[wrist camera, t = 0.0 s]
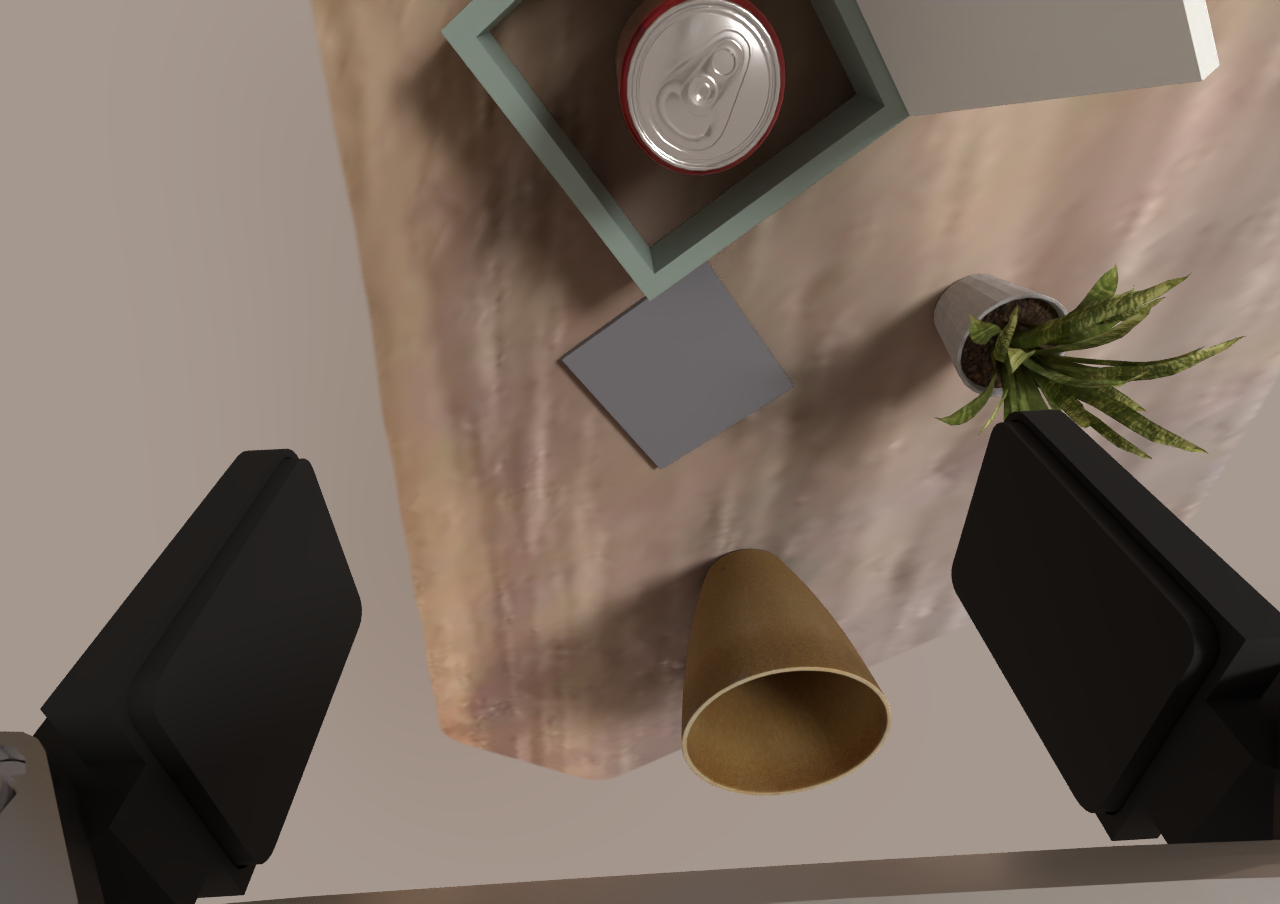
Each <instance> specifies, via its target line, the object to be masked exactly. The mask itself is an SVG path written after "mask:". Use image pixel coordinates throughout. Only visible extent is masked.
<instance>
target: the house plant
mask: <svg viewBox="0 0 1280 904" xmlns="http://www.w3.org/2000/svg"><path fill="white" fill-rule="evenodd" d="M1189 275H1190V274H1189ZM1189 275H1188V276H1189ZM1188 276H1186V277H1182V278H1177V279H1172V280H1168V281H1165V282H1163V283H1161V284H1158V285H1156V286H1153V287H1151V288H1148V289H1145V290H1142V291H1135V292H1133V291H1134V286H1133V288H1132V290H1130V291H1128V292H1125V293H1123V294H1119V295H1115V296H1113V295H1114V294H1115V291H1116V289H1117V284H1118V273H1117V267H1116V264H1115V267H1114V268H1113V269H1111V270H1110V271H1108V272H1107V273H1105V274H1104V275H1103V276H1102V277H1101V278H1100V279H1099V280H1098V281H1097V283H1096V284H1095V285H1094V286H1093V288H1092V289H1091V290H1090V292H1089V293H1088V294H1087V296H1086V297H1085V298H1084V299H1083V301H1082V302H1081V303H1080V304H1079V305H1078V307H1077V308H1076V309H1075V310H1073V311H1072V312H1070V313H1069V314H1068V313H1067V311H1066V309H1065V307H1064V306H1062V305H1061V304H1060V303H1059V302H1058V301H1057V300H1056V299H1053V298H1051V297H1048V296H1046V295H1043V294H1041V293H1038V292H1035V291H1032V290H1029V289H1027V288H1024V287H1021V286H1018V285H1016V284H1013V283H1010V282H1007V281H1005V280H1002V279H999V278H996V277H994V276H991V275H986V274H976V275H970V276H967V277H965V278H962V279H960V280H958V281H957V282H955V283H954V284H952V285H951V286H950V287H949V288H948V289H947V290H946V291H945V292H944V293H943V294H942V296H941V297H940V299H939V300H938V302H937V304H936V307H935V310H934V318H933V321H934V323H935V326H936V329H937V331H938V333H939V335H940V337H941V339H942V341H943V343H944V345H945V348H946V350H947V352H948V354H949V356H950V358H951V360H952V362H953V364H954V366H955V368H956V370H957V373H958V375H959V376H960V378H961V380H962V381H963V383H964V384H965V385H966V386H967V387H968V388H970V389H971V390H972V391H974V392H976V393H979V394H980V395H979V396H978V397H977V398H976V399H974V400H973V401H972V402H970V403H969V404H967V405H966V406H964V407H963V408H961V409H960V410H958V411H957V412H955V413H954V414H952V415H951V416H948V417H944V418H941V419H940V418H937V419H939V420H941V421H943V422H945V423H947V424H949V425H960V424H962V423H965V422H967V421H969V420H970V419H971V418H973V417H974V416H975V415H976V414H977V413H978V412H979V411H980V410H981V409H982V407H983V406H984V405H985V404H986V403H987V401H988V399H989V397H990V396H994V397H1002V399H1001V401H1000V403H999V405H998V406H997V408H996V410H995V412H994V414H993V415H992V417H991V418H990V419H989V421H988V422H987V424H986V425H985V426H984V428H983V429H982V430H981V432H982V431H983V430H984V429H985V427H986V426H987V425H988V424H989V423H990V422H991V421H992V420H993V419H994V417H995V415H996V413H997V411H998V409H999V407H1000V406H1001V404H1002V403H1003V401H1004V421H1005V419H1006V417H1007V416H1008V415H1009V414H1010V413H1012V412H1014V411H1031V410H1049V409H1048V407H1047V405H1046V403H1045V402H1044V400H1043V398H1042V396H1041V394H1040V392H1039V390H1038V387H1039V388H1040V389H1041V391H1042V392H1043V394H1044V396H1045V398H1046V399H1047V401H1048V403H1049V405H1050V406H1051V408H1052V409H1054V410H1060V411H1061V409H1062V410H1063V411H1064V412H1065V413H1066V414H1067V415H1068V416H1069V417H1070V418H1071V419H1072V420H1073V421H1074V422H1076V423H1077V424H1078V425H1080V426H1081V427H1084V428H1087V427H1089V425H1090V426H1091V427H1092V428H1093V429H1095V430H1096V431H1097V432H1098V433H1100V434H1101V435H1102V436H1103V437H1105V438H1106V439H1107V440H1109V441H1110V442H1111V443H1113V444H1114V445H1115V446H1117V447H1118V448H1121V449H1123V450H1125V451H1128V452H1131V453H1134V454H1136V455H1138V456H1140V457H1143V458H1150V459H1152V458H1151V457H1150V456H1148V455H1147V454H1146V453H1144V452H1143V451H1141V450H1140V449H1138V448H1137V447H1136V446H1134V445H1133V444H1132V443H1130V442H1129V441H1127V440H1126V439H1124V438H1123V437H1121V436H1120V435H1119V434H1117V433H1116V432H1115V431H1113V430H1112V429H1111V428H1110V427H1108V426H1107V425H1106V424H1105V423H1104V422H1102V421H1101V420H1100V419H1099V418H1097V417H1096V416H1094V415H1092V414H1091V413H1089V412H1088V411H1086V410H1085V409H1084V407H1083V404H1082V403H1081V402H1080V401H1078V400H1081V401H1083V402H1085V403H1087V404H1089V405H1092V406H1093V407H1095V408H1097V409H1099V410H1100V411H1102V412H1104V413H1105V414H1107V415H1108V416H1110V417H1112V418H1113V419H1115V420H1117V421H1118V422H1120V423H1121V424H1123V425H1125V426H1126V427H1128V428H1129V429H1131V430H1132V431H1134V432H1136V433H1138V434H1139V435H1141V436H1143V437H1145V438H1147V439H1148V440H1150V441H1153V442H1157V443H1160V444H1164V445H1168V446H1173V447H1177V448H1180V449H1183V450H1187V451H1191V452H1206V451H1205V450H1203V449H1201V448H1199V447H1198V446H1196V445H1194V444H1193V443H1191V442H1189V441H1187V440H1184V439H1183V438H1181V437H1179V436H1177V435H1175V434H1173V433H1172V432H1170V431H1168V430H1166V429H1164V428H1162V427H1160V426H1159V425H1157V424H1155V423H1153V422H1152V421H1150V420H1148V419H1147V418H1145V417H1144V416H1142V415H1141V414H1139V413H1138V412H1136V411H1145V410H1144V409H1143V408H1142V407H1141V406H1139V405H1138V404H1137V403H1136V402H1134V401H1133V400H1131V399H1130V398H1129V397H1127V396H1126V395H1124V394H1123V393H1121V392H1120V391H1118V390H1117V389H1115V388H1114V387H1112V386H1121V385H1123V384H1125V383H1126V382H1130V381H1136V380H1150V379H1156V378H1161V377H1166V376H1171V375H1174V374H1176V373H1179V372H1181V371H1183V370H1185V369H1187V368H1190V367H1192V366H1194V365H1195V364H1197V363H1199V362H1201V361H1203V360H1205V359H1207V358H1209V357H1211V356H1213V355H1215V354H1217V353H1219V352H1221V351H1223V350H1225V349H1227V348H1228V347H1230V346H1231V345H1232V344H1234V343H1235V342H1236V341H1238V340H1239V339H1241V338H1242V337H1238V338H1235V339H1233V340H1230V341H1227V342H1224V343H1221V344H1218V345H1216V346H1213V347H1210V348H1208V349H1205V350H1202V351H1200V352H1197V351H1199V350H1200V349H1202V348H1203V347H1202V348H1199V349H1197V350H1195V351H1192V352H1189V353H1187V354H1184V355H1181V356H1178V357H1174V358H1170V359H1165V360H1160V361H1151V362H1128V361H1112V360H1096V359H1084V358H1074V357H1066V356H1064V355H1065V353H1066V351H1072V350H1082V349H1088V348H1093V347H1097V346H1100V345H1104V344H1107V343H1110V342H1112V341H1115V340H1117V339H1119V338H1122V337H1123V336H1125V335H1126V334H1127V333H1128V332H1129V331H1130V330H1131V329H1132V328H1133V327H1134V326H1136V325H1137V324H1138V323H1140V322H1141V321H1142V320H1143V319H1144V318H1145V317H1146V316H1147V315H1148V314H1149V312H1150V310H1151V307H1153V306H1155V305H1156V304H1157V303H1158V302H1159V301H1161V300H1162V299H1163V298H1165V297H1163V298H1160V299H1156V300H1154V301H1153V302H1150V303H1147V302H1149V301H1151V300H1153V299H1155V298H1157V297H1159V296H1161V295H1162V294H1164V293H1165V292H1167V291H1168V290H1170V289H1171V288H1173V287H1174V286H1176V285H1178V284H1179V283H1181V282H1182V281H1183V280H1185V279H1186V278H1187V277H1188ZM1144 303H1147V304H1144ZM1142 304H1144V305H1142ZM1140 305H1142V306H1140ZM1138 306H1139V307H1138ZM1135 307H1136V308H1135ZM1121 321H1123V322H1122V323H1120V324H1119V325H1117V326H1115V325H1116V324H1117V323H1119V322H1121ZM1113 326H1115V327H1113ZM1112 327H1113V328H1112ZM1110 328H1111V329H1110ZM1243 337H1245V336H1243ZM1196 352H1197V353H1196ZM1074 362H1075V363H1074ZM1078 363H1084V364H1096V365H1110V366H1113V367H1103V368H1098V367H1091V366H1086V365H1082V364H1078ZM1077 399H1078V400H1077ZM1060 408H1061V409H1060ZM1135 410H1136V411H1135ZM1145 412H1146V411H1145ZM1146 413H1147V412H1146ZM934 418H935V417H934ZM981 432H980V433H981ZM980 433H979V434H980ZM979 434H978V435H979ZM1206 453H1207V452H1206ZM1207 454H1208V453H1207Z"/></svg>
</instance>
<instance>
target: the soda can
mask: <svg viewBox="0 0 1280 904" xmlns="http://www.w3.org/2000/svg"><path fill="white" fill-rule="evenodd" d="M615 71H616V78H617V86H618V93H619V100H620V106H621V112H622V115H623V118H624V121H625V124H626V127H627V129H628V131H629V132H630V134H631V136H632V138H633V140H634V141H635V143H636V144H637V145H638V146H639V148H640V149H641V150H642V151H643V152H644V153H645V155H646V156H648V157H649V158H650V159H652V160H653V161H654V162H655V163H657V164H658V165H660V166H662V167H664V168H666V169H668V170H670V171H672V172H675V173H679V174H683V175H688V176H706V175H712V174H718V173H720V172H723V171H726V170H728V169H731V168H733V167H735V166H736V165H738V164H739V163H741V162H743V161H744V160H746V159H747V158H748V157H749V156H750V155H752V154H753V153H754V152H755V151H756V150H757V149H758V148H759V147H760V146H761V144H762V143H763V142H764V140H765V139H766V138H767V136H768V135H769V134H770V132H771V130H772V128H773V126H774V124H775V122H776V120H777V118H778V116H779V113H780V109H781V106H782V103H783V99H784V92H785V85H786V68H785V60H784V55H783V50H782V46H781V43H780V41H779V39H778V36H777V34H776V32H775V29H774V28H773V26H772V25H771V23H770V22H769V20H768V19H767V17H766V16H765V14H764V13H763V12H762V11H761V10H759V9H758V8H757V7H756V6H755V5H754V4H753V3H752V2H751V1H749V0H645V1H644V2H642V3H641V4H640V5H639V6H638V7H637V9H636V10H635V11H634V12H633V13H632V14H631V16H630V17H629V19H628V21H627V22H626V24H625V25H624V27H623V30H622V33H621V35H620V38H619V40H618V45H617V50H616V61H615Z"/></svg>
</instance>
